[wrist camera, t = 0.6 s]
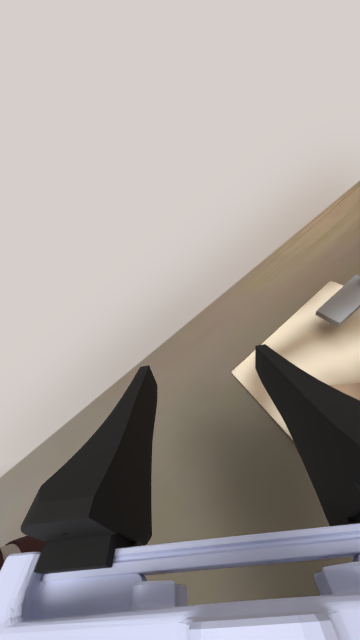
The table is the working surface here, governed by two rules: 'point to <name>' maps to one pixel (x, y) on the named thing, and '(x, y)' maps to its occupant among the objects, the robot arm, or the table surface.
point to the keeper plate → (315, 342)
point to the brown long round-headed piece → (349, 389)
